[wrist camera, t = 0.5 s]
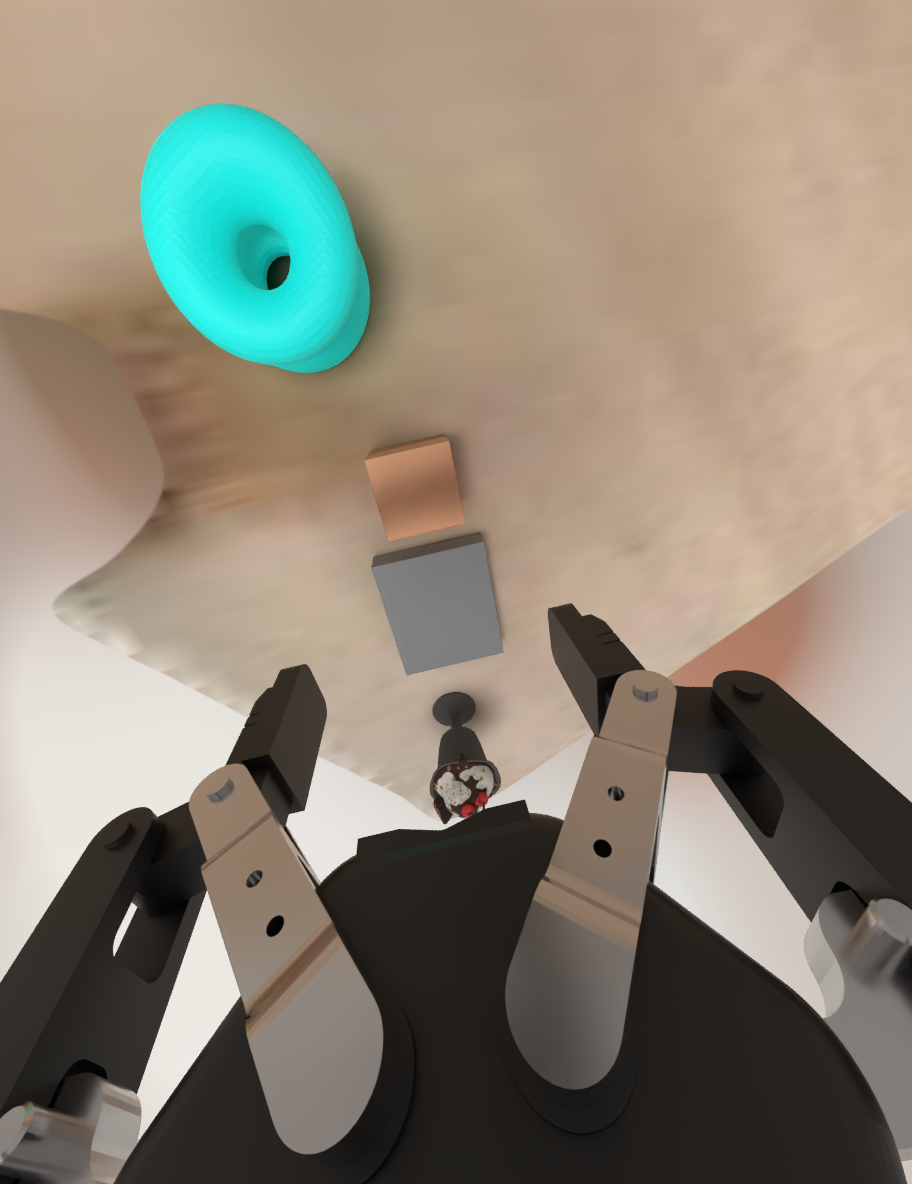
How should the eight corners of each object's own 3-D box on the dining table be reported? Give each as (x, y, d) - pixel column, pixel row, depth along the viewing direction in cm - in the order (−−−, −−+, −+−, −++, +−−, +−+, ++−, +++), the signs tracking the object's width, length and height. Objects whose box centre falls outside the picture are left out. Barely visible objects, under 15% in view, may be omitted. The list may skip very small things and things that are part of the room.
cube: (371, 450, 33) (364, 460, 27) (442, 434, 33) (449, 441, 27) (391, 519, 35) (388, 541, 30) (456, 504, 35) (465, 523, 30)
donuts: (397, 271, 20) (256, 405, 21) (400, 311, 29) (301, 403, 30) (231, 13, 16) (74, 205, 17) (295, 154, 25) (187, 271, 26)
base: (374, 555, 37) (371, 567, 34) (478, 531, 37) (483, 541, 34) (406, 657, 42) (406, 675, 40) (497, 636, 42) (503, 652, 40)
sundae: (483, 683, 44) (516, 806, 31) (481, 728, 47) (510, 858, 34) (424, 687, 44) (431, 814, 30) (426, 732, 47) (433, 867, 33)
